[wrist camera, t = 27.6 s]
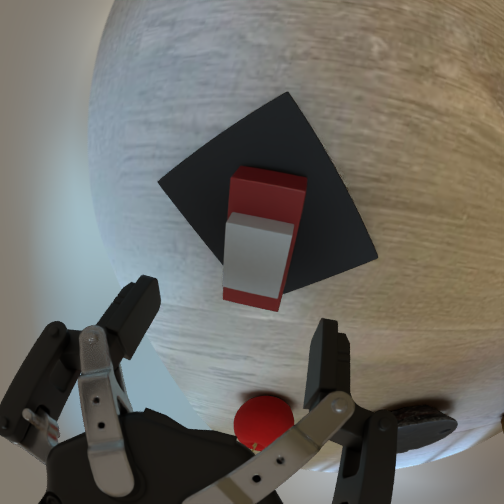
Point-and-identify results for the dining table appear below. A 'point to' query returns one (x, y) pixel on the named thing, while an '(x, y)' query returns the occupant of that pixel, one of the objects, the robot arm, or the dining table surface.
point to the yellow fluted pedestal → (503, 422)
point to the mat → (285, 161)
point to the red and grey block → (261, 235)
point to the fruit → (262, 421)
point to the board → (421, 427)
